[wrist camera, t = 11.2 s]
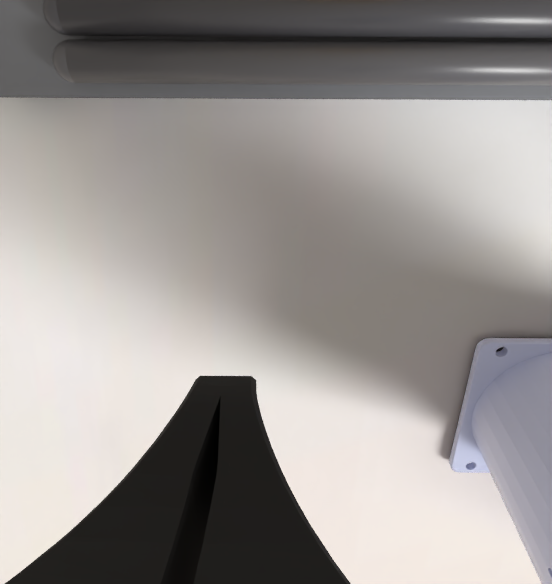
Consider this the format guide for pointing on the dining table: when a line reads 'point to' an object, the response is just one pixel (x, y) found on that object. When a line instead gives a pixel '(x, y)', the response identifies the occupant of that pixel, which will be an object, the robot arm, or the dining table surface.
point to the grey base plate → (277, 49)
